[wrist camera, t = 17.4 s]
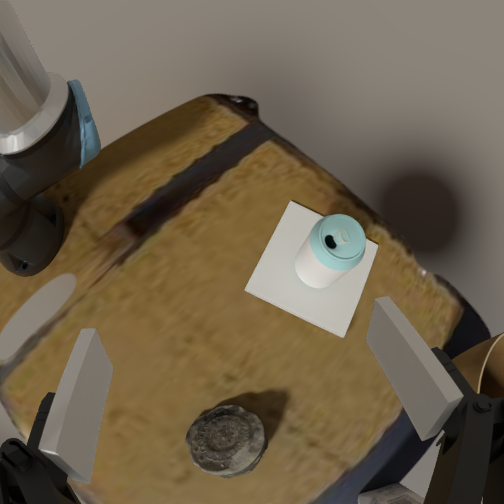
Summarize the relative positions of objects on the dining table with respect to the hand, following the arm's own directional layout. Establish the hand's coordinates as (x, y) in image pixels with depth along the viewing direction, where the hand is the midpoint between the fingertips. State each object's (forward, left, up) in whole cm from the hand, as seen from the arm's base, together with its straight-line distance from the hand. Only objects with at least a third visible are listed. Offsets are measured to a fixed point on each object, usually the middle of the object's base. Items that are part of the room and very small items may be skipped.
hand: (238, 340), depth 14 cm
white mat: (+5, +16, -30) cm, 34 cm away
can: (+5, +16, -29) cm, 34 cm away
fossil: (+5, -12, -30) cm, 33 cm away
